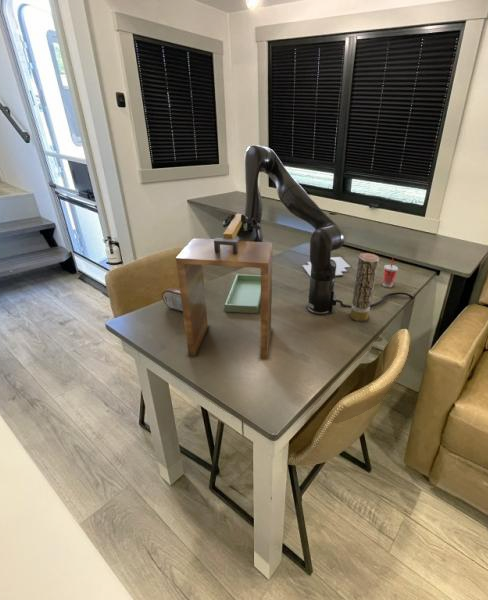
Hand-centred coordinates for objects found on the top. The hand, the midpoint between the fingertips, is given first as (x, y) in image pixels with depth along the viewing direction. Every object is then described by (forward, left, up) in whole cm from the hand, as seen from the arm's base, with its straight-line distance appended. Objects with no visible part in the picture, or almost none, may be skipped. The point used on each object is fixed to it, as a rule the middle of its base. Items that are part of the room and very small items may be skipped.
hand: (237, 217), depth 106 cm
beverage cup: (-63, -31, -36) cm, 79 cm away
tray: (0, -15, -37) cm, 39 cm away
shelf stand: (0, +17, -37) cm, 40 cm away
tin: (+22, -1, -37) cm, 43 cm away
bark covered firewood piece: (-45, -2, -37) cm, 58 cm away
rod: (0, +5, -3) cm, 6 cm away
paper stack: (-36, -49, -37) cm, 71 cm away
